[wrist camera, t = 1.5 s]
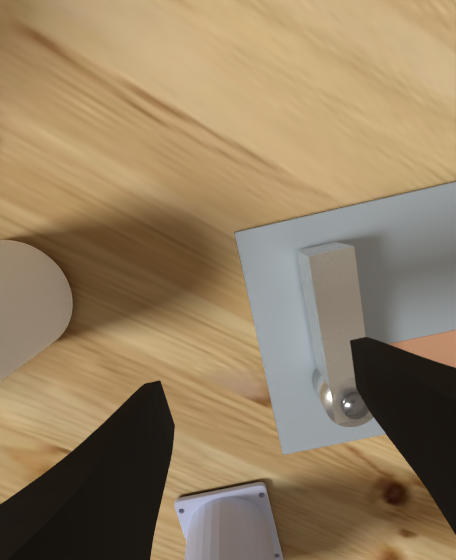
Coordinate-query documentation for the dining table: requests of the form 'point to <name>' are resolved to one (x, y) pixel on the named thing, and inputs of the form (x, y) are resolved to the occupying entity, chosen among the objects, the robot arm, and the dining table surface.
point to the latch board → (373, 291)
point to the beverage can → (29, 304)
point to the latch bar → (334, 328)
